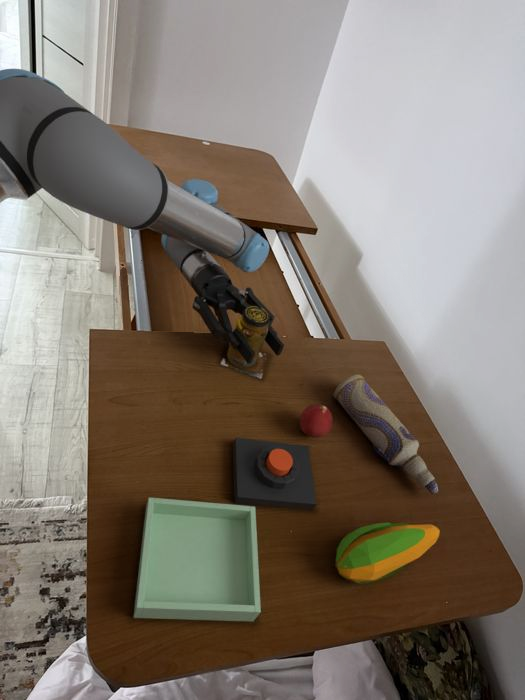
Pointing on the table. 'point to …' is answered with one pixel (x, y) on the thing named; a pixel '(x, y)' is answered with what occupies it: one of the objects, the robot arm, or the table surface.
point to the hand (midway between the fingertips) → (266, 354)
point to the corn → (382, 550)
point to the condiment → (250, 337)
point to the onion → (316, 420)
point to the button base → (272, 476)
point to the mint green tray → (198, 562)
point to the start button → (279, 462)
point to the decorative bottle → (383, 429)
